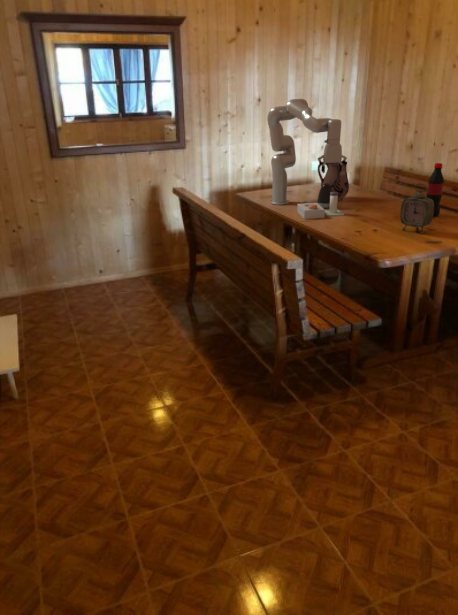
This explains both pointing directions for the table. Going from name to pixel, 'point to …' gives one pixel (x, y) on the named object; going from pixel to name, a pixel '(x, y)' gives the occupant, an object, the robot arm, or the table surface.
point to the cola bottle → (436, 187)
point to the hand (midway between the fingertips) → (331, 172)
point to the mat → (334, 213)
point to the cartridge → (333, 202)
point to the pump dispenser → (325, 195)
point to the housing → (310, 211)
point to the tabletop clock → (417, 210)
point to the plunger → (312, 206)
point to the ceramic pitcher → (336, 178)
